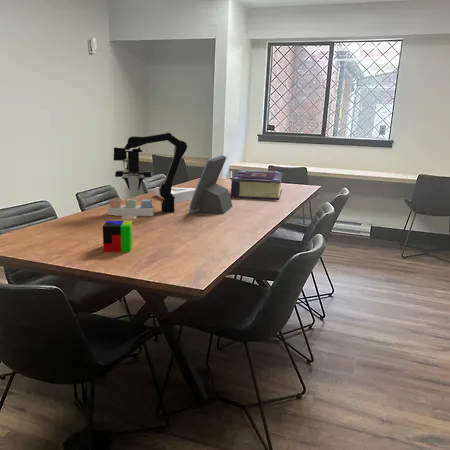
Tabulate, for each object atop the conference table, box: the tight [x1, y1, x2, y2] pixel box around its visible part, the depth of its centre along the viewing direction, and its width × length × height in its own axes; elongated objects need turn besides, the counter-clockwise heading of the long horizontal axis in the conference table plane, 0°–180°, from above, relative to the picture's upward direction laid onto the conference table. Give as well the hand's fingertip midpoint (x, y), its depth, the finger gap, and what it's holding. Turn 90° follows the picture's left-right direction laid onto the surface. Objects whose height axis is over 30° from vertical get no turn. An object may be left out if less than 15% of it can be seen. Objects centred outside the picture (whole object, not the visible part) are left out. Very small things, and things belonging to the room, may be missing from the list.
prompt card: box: [121, 216, 138, 220], centre depth 238 cm, size 7×6×1 cm
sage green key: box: [125, 198, 138, 208], centre depth 245 cm, size 5×5×5 cm
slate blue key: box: [140, 199, 153, 208], centre depth 246 cm, size 5×5×5 cm
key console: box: [107, 204, 155, 217], centre depth 246 cm, size 23×7×4 cm, turn 94°
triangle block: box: [155, 186, 196, 204], centre depth 298 cm, size 30×26×6 cm
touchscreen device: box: [189, 154, 233, 215], centre depth 263 cm, size 35×20×30 cm, turn 168°
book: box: [230, 170, 284, 201], centre depth 323 cm, size 33×45×14 cm
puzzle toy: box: [102, 220, 134, 253], centre depth 182 cm, size 10×10×10 cm
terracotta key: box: [109, 198, 122, 208], centre depth 245 cm, size 5×5×5 cm
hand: (134, 190), depth 249 cm, fingers open, 5 cm apart
